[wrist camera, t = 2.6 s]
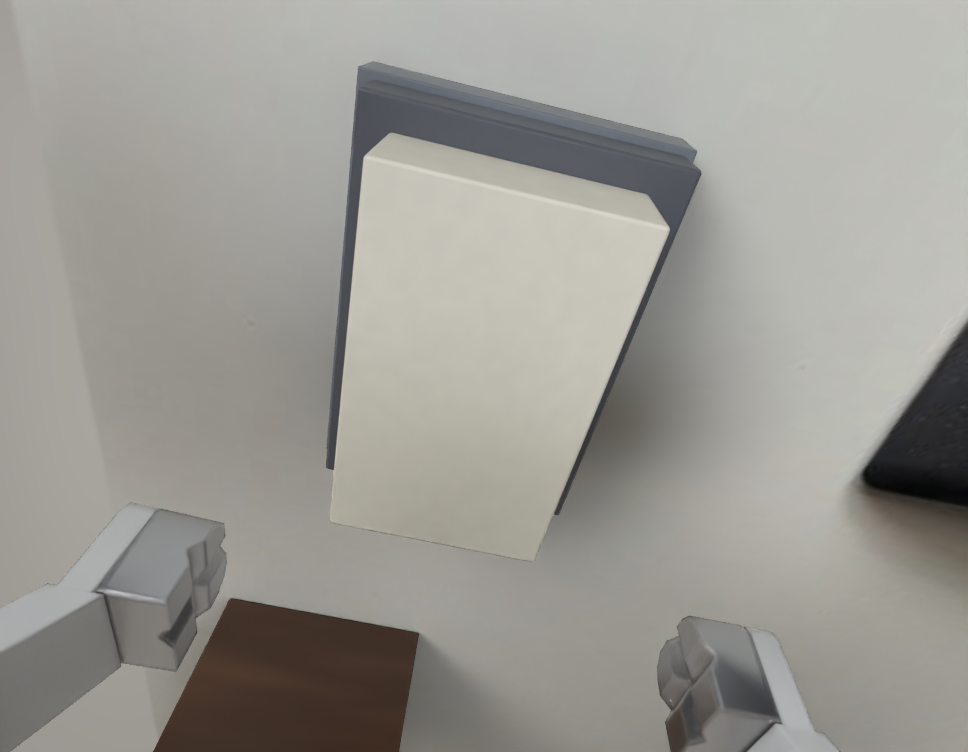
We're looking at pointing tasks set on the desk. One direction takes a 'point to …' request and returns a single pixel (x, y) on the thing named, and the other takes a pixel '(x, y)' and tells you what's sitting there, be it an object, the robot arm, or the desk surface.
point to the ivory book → (479, 341)
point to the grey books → (517, 138)
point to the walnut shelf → (294, 685)
